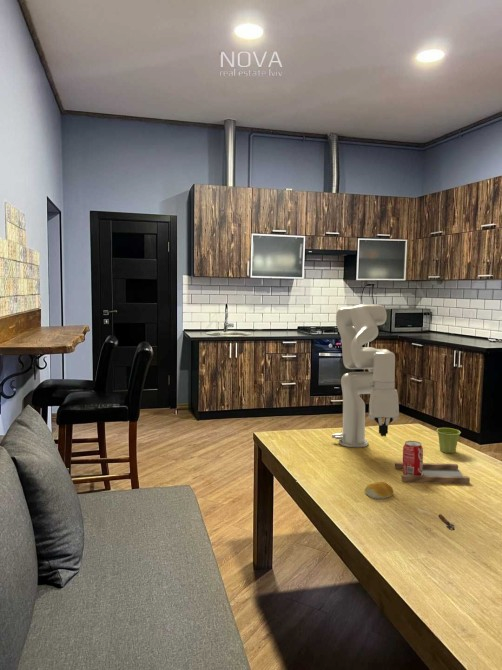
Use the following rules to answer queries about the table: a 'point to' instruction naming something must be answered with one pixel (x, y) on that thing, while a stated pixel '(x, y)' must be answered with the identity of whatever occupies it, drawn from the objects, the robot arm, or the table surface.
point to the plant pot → (448, 439)
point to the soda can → (412, 458)
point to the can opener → (446, 522)
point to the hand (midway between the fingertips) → (383, 435)
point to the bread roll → (379, 490)
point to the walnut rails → (434, 478)
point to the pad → (441, 472)
